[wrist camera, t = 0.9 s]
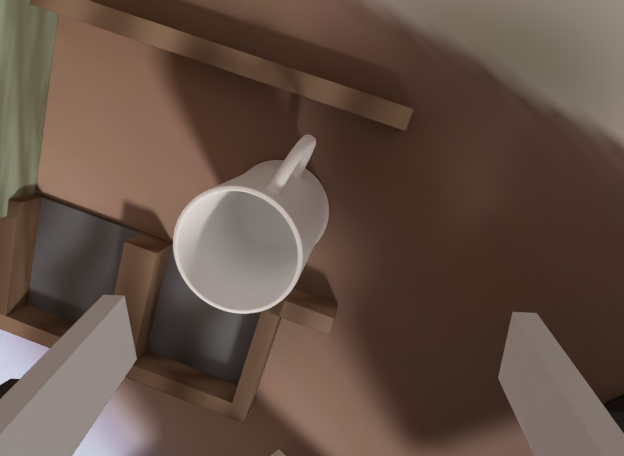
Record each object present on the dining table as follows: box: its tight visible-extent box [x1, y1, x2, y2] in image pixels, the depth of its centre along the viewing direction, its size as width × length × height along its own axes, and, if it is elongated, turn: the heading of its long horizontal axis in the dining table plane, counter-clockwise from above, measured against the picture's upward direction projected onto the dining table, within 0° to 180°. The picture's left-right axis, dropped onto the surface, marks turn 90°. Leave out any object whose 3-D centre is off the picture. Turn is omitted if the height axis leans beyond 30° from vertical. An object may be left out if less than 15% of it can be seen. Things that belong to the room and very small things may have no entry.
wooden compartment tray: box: [0, 0, 414, 423], centre depth 36 cm, size 32×31×6 cm
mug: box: [173, 134, 329, 314], centre depth 31 cm, size 12×8×12 cm
